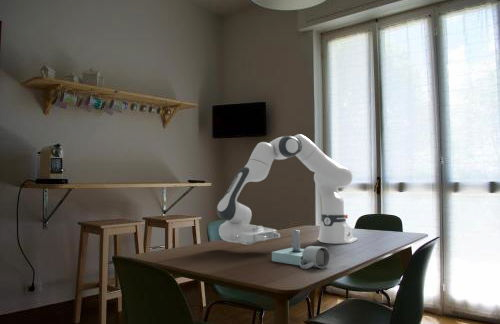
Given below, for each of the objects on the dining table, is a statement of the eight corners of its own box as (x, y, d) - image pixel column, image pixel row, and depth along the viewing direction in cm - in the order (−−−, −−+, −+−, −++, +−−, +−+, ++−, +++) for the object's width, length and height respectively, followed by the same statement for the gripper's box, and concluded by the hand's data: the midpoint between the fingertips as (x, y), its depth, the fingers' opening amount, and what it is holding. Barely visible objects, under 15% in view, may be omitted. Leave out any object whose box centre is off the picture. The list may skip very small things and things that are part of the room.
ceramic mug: (315, 263, 149) (314, 243, 149) (330, 267, 142) (330, 246, 142) (294, 267, 143) (293, 246, 143) (309, 271, 136) (309, 249, 136)
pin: (295, 259, 156) (295, 229, 157) (301, 260, 154) (301, 230, 155) (291, 260, 154) (290, 230, 155) (297, 261, 152) (296, 230, 153)
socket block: (292, 255, 164) (292, 247, 164) (320, 259, 155) (320, 251, 155) (271, 260, 154) (271, 252, 154) (301, 265, 144) (301, 256, 145)
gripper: (231, 229, 164) (256, 232, 155) (262, 225, 180) (286, 227, 170) (231, 244, 164) (256, 248, 155) (262, 238, 179) (286, 241, 170)
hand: (272, 237), depth 163 cm, fingers open, 8 cm apart
